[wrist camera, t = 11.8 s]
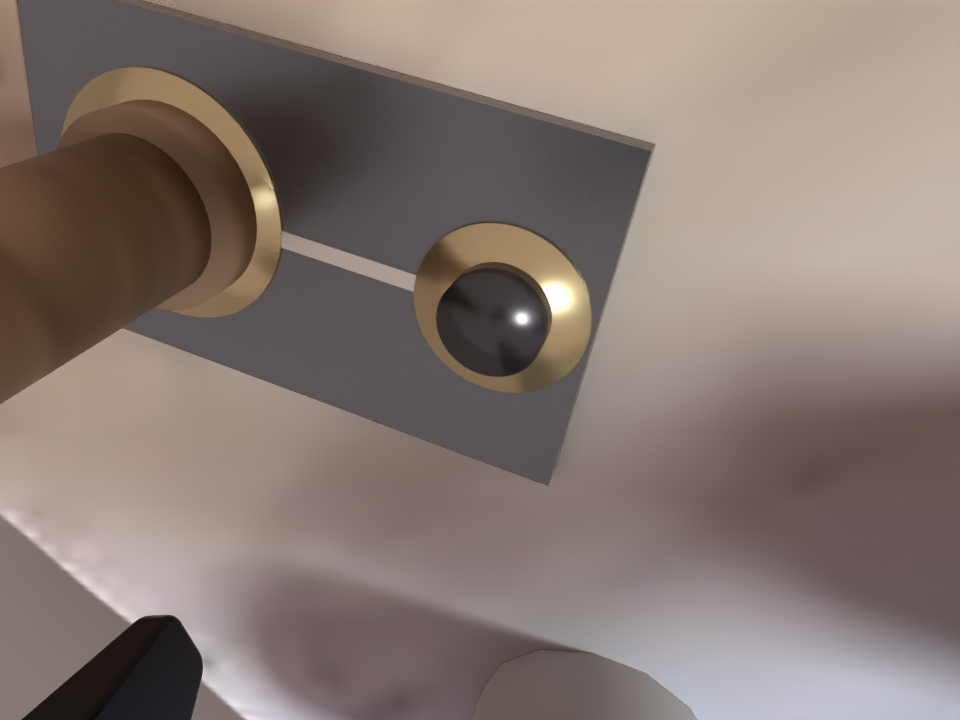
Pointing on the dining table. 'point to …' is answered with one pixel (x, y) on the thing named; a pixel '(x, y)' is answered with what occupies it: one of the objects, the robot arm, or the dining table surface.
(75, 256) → the walnut post
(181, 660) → the robot arm
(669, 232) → the dining table surface
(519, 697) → the cup
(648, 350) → the dining table surface
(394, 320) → the gauge plate
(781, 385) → the dining table surface
